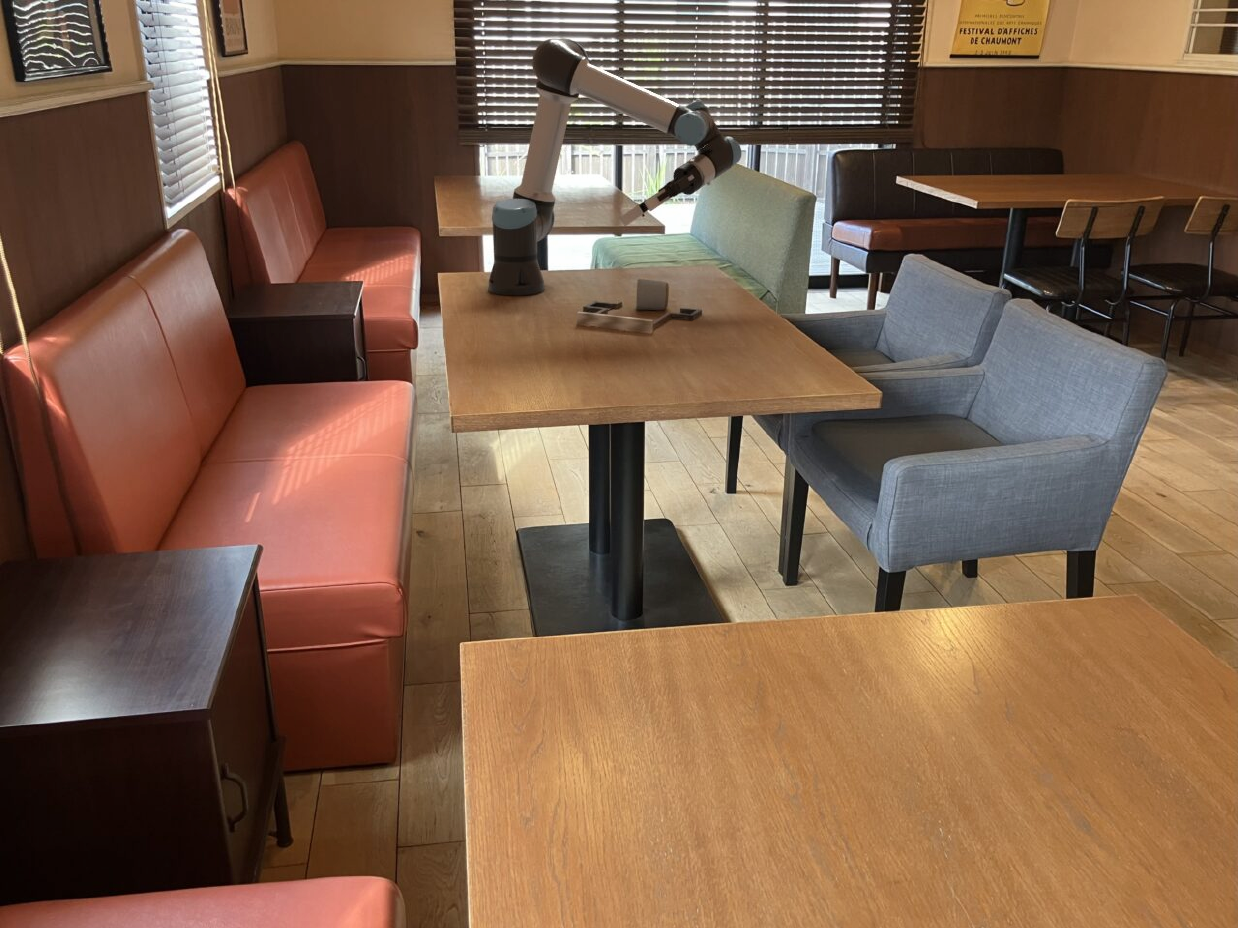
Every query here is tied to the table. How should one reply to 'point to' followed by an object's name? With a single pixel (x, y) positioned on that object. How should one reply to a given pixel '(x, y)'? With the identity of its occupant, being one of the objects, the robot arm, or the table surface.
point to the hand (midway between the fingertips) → (634, 214)
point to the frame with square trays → (627, 318)
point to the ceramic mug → (652, 295)
